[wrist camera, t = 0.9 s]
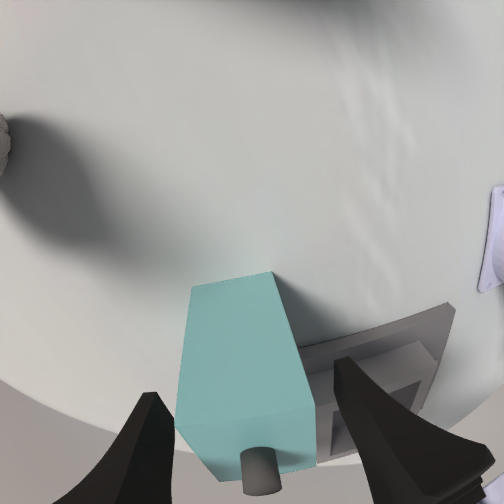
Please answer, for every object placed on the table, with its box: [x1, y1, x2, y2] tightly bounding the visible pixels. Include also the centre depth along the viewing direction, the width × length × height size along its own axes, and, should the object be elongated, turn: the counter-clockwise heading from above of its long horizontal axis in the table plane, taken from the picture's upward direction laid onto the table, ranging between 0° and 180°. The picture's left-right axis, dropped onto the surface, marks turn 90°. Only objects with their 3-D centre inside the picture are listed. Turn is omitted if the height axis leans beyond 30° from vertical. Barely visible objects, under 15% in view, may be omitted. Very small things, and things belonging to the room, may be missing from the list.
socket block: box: [297, 302, 456, 464], centre depth 17 cm, size 14×12×4 cm
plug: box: [174, 271, 316, 496], centre depth 11 cm, size 4×5×10 cm
